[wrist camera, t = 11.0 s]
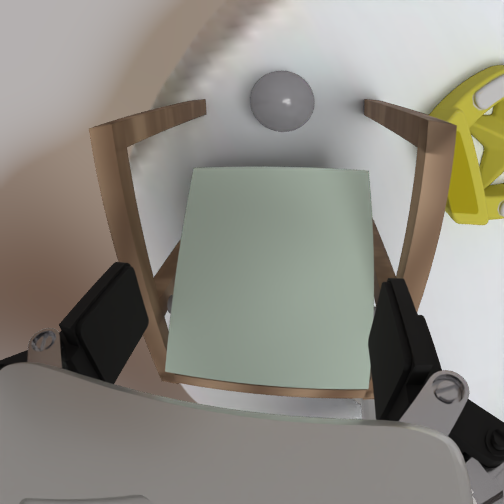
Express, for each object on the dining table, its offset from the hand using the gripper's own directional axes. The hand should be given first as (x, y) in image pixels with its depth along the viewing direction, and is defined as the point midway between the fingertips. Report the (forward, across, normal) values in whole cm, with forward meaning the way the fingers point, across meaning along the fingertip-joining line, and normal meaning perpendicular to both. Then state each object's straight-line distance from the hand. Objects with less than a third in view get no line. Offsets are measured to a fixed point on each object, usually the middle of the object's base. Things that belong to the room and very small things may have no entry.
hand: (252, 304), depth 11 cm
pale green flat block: (+13, 0, +8) cm, 15 cm away
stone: (+17, 0, -6) cm, 18 cm away
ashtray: (+23, -24, -5) cm, 34 cm away
